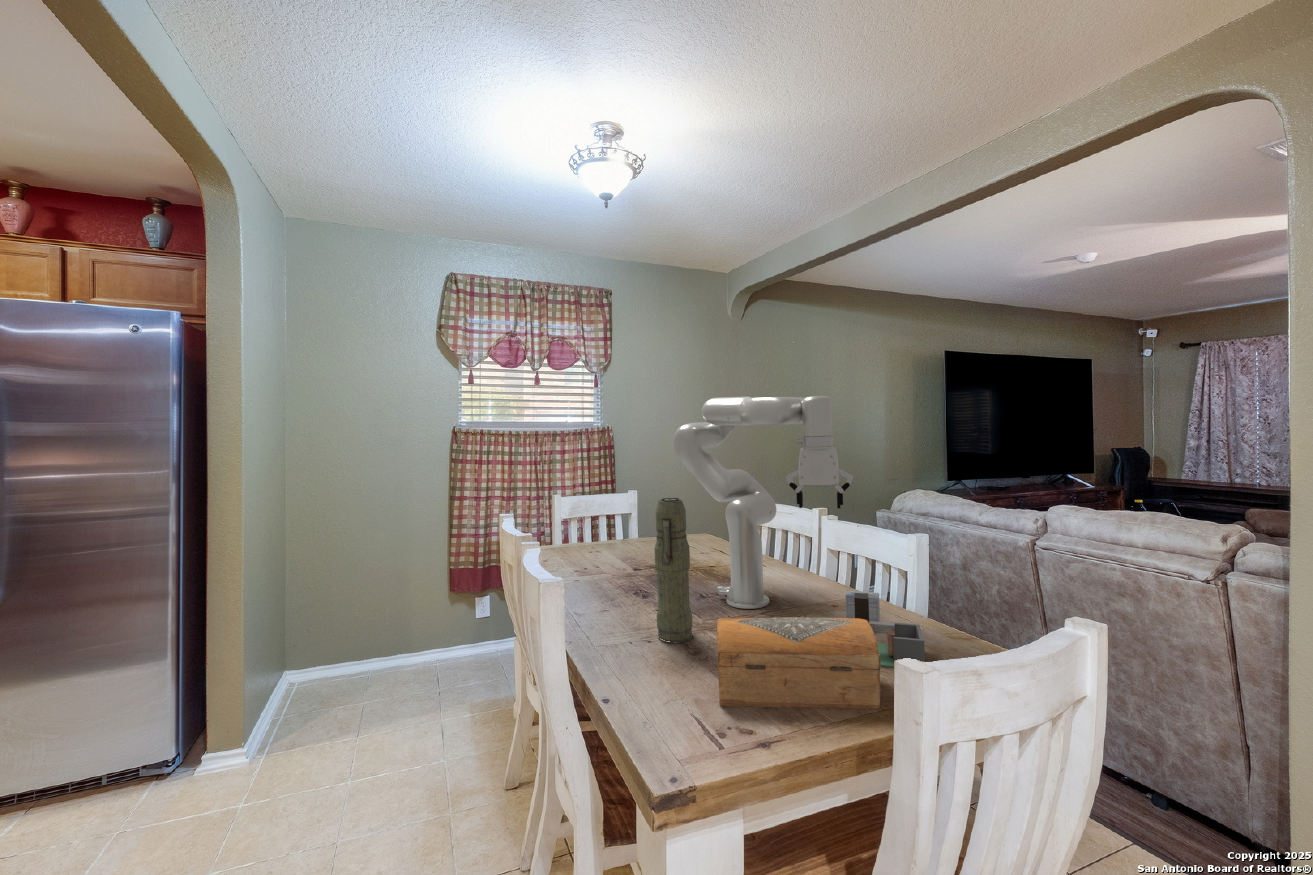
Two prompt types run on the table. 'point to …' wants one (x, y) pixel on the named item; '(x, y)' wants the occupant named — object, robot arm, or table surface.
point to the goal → (908, 642)
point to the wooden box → (798, 663)
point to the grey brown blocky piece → (863, 613)
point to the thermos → (672, 571)
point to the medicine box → (873, 605)
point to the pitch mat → (885, 656)
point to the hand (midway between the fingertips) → (819, 507)
